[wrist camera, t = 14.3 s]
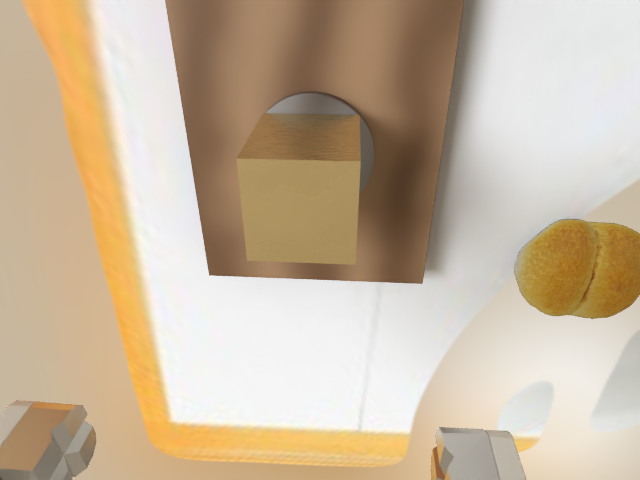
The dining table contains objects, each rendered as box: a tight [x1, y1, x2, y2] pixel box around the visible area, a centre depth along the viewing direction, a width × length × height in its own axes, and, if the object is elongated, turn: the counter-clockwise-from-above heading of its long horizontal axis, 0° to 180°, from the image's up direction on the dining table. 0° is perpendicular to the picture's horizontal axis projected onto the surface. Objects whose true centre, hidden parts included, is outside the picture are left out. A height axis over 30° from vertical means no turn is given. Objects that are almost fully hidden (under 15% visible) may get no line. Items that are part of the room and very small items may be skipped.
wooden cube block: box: [236, 113, 361, 265], centre depth 25 cm, size 6×6×7 cm
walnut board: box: [165, 0, 464, 284], centre depth 27 cm, size 16×20×10 cm
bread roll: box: [514, 219, 640, 319], centre depth 33 cm, size 8×9×4 cm
